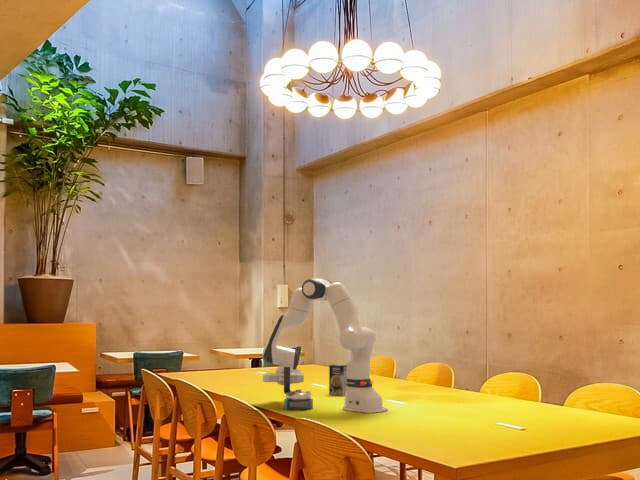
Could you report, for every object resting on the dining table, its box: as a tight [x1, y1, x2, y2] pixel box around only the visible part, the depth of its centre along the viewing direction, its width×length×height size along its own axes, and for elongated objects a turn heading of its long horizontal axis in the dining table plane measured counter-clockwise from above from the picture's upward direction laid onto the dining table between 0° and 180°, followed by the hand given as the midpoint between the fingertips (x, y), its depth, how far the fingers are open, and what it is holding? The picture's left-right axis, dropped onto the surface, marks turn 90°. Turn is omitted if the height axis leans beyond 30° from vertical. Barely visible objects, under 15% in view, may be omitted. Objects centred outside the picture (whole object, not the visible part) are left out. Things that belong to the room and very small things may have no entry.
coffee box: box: [328, 364, 347, 397], centre depth 370 cm, size 9×6×16 cm
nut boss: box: [283, 398, 314, 411], centre depth 323 cm, size 14×15×5 cm
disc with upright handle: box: [283, 367, 312, 401], centre depth 323 cm, size 14×12×16 cm
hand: (283, 379), depth 321 cm, fingers closed
